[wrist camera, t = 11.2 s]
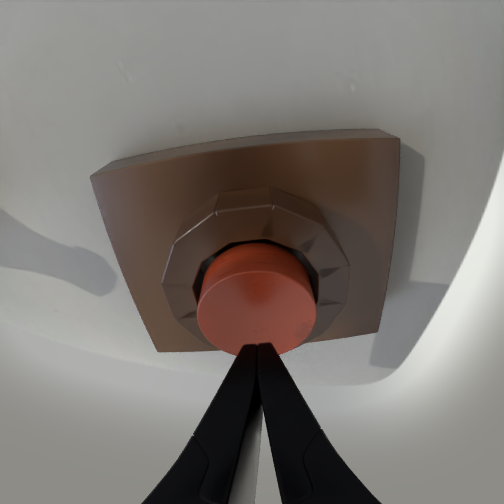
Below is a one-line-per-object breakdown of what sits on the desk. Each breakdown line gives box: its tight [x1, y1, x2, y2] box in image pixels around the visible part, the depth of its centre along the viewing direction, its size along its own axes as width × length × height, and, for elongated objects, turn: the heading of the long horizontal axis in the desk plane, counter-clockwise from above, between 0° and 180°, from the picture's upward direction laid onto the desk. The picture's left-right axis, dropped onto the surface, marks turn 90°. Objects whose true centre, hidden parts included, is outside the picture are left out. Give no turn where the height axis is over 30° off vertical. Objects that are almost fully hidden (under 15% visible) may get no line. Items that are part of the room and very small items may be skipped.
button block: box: [90, 129, 400, 352], centre depth 13 cm, size 12×10×4 cm
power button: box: [197, 243, 317, 356], centre depth 11 cm, size 4×4×2 cm
